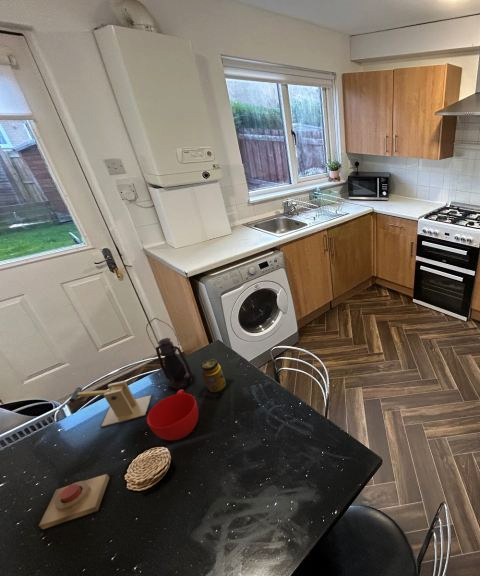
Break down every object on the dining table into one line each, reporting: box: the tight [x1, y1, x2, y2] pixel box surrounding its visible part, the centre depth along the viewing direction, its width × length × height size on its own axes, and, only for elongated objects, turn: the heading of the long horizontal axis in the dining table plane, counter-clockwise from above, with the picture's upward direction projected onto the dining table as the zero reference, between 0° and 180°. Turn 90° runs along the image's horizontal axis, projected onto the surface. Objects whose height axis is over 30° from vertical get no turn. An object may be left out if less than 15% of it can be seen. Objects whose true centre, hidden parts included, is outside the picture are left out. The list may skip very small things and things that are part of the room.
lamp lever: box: [68, 386, 123, 403], centre depth 99 cm, size 12×5×2 cm, turn 113°
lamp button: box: [60, 483, 82, 503], centre depth 79 cm, size 4×4×2 cm
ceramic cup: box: [146, 389, 199, 441], centre depth 99 cm, size 13×17×10 cm
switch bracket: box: [101, 380, 152, 428], centre depth 103 cm, size 12×9×12 cm
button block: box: [38, 473, 110, 530], centre depth 80 cm, size 11×9×4 cm
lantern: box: [145, 317, 194, 390], centre depth 110 cm, size 8×8×30 cm
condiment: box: [201, 358, 227, 393], centre depth 112 cm, size 7×8×12 cm
